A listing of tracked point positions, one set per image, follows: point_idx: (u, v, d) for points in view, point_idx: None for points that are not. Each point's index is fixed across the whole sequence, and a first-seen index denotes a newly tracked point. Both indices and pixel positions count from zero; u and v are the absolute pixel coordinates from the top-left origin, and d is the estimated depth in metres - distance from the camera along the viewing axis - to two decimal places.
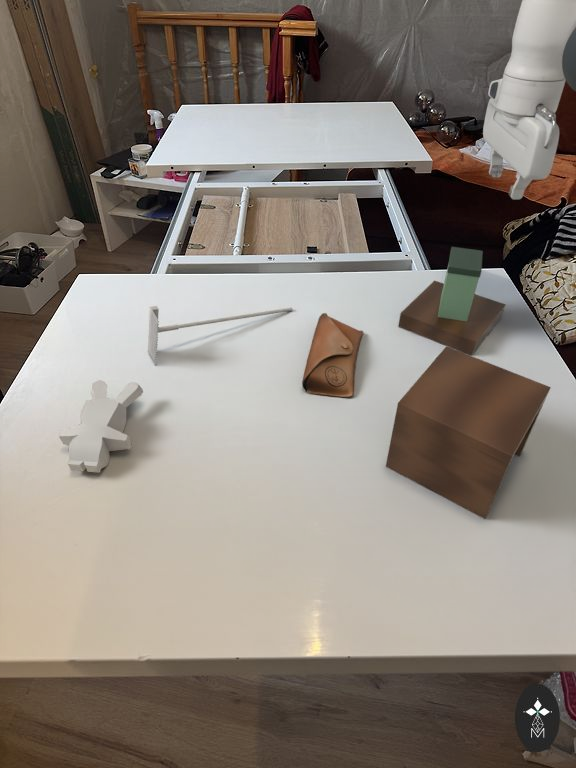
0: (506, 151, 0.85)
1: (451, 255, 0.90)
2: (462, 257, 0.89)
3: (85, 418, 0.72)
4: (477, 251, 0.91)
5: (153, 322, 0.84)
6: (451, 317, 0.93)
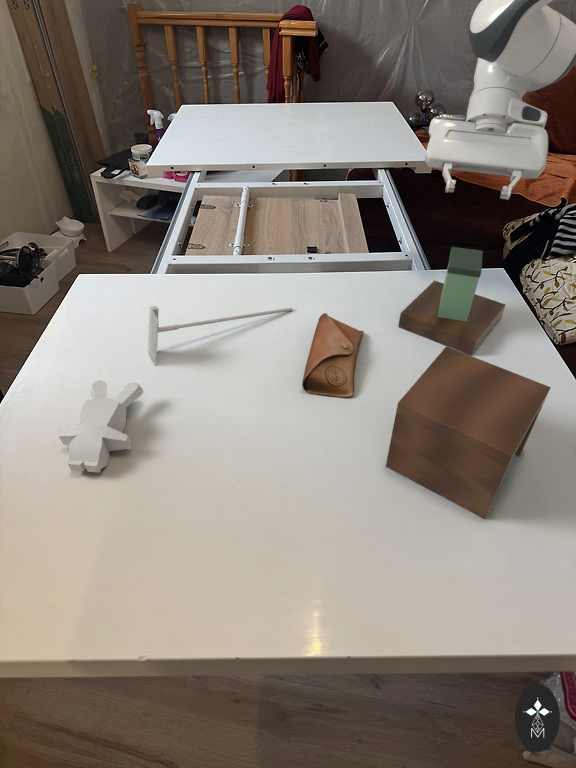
0: None
1: (451, 255, 0.90)
2: (462, 257, 0.89)
3: (85, 418, 0.72)
4: (477, 251, 0.91)
5: (153, 322, 0.84)
6: (451, 317, 0.93)
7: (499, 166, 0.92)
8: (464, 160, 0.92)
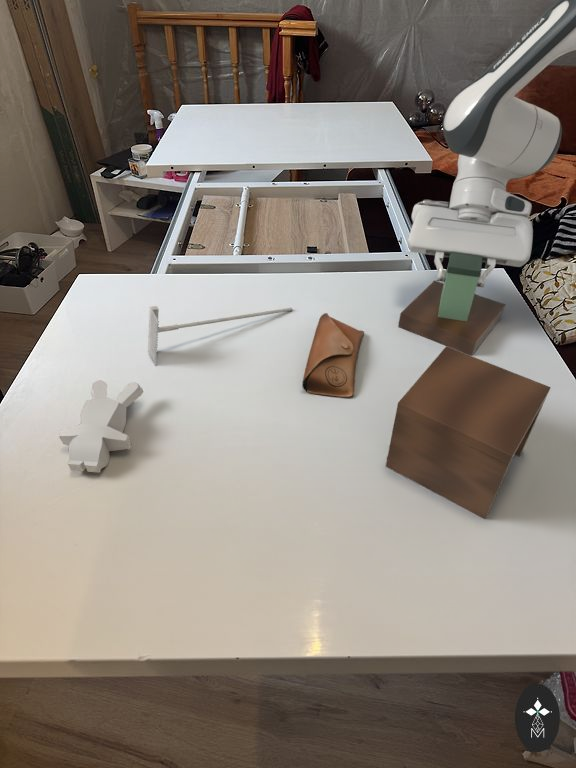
0: None
1: (451, 255, 0.90)
2: (462, 257, 0.89)
3: (85, 418, 0.72)
4: None
5: (153, 322, 0.84)
6: (451, 317, 0.93)
7: (482, 256, 0.89)
8: (446, 248, 0.90)
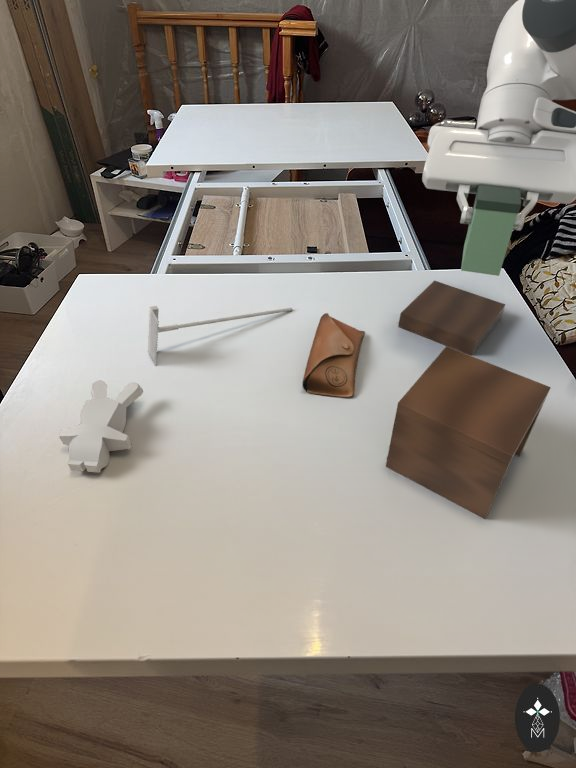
0: None
1: (479, 187, 0.69)
2: (494, 190, 0.68)
3: (85, 418, 0.72)
4: None
5: (153, 322, 0.84)
6: (478, 270, 0.72)
7: (521, 188, 0.69)
8: (473, 180, 0.70)
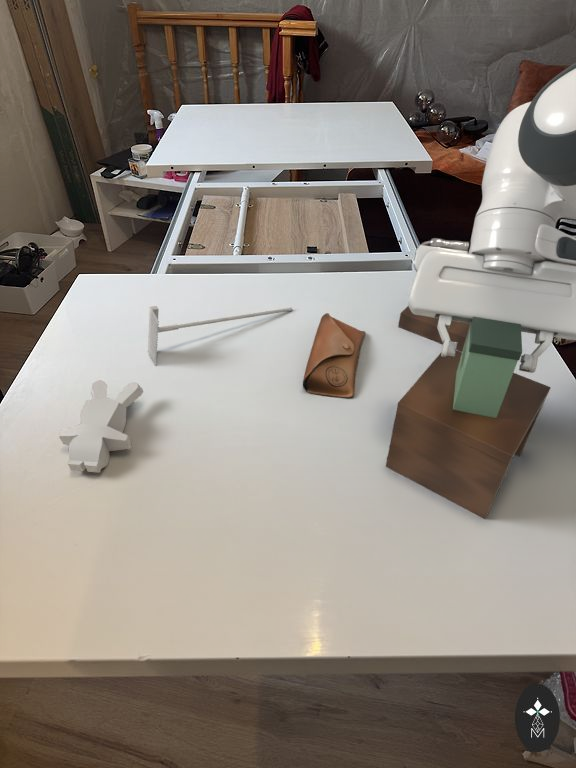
0: None
1: (474, 323, 0.59)
2: (491, 327, 0.59)
3: (85, 418, 0.72)
4: None
5: (153, 322, 0.84)
6: (473, 411, 0.63)
7: (521, 325, 0.59)
8: (466, 313, 0.60)
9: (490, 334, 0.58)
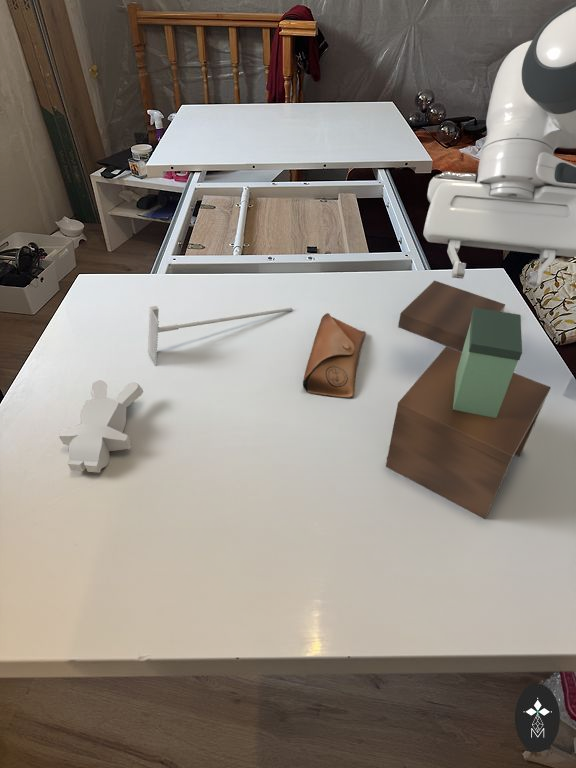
0: None
1: (474, 323, 0.59)
2: (491, 327, 0.59)
3: (85, 418, 0.72)
4: (512, 315, 0.61)
5: (153, 322, 0.84)
6: (473, 411, 0.63)
7: (525, 245, 0.67)
8: (476, 236, 0.68)
9: (490, 334, 0.58)
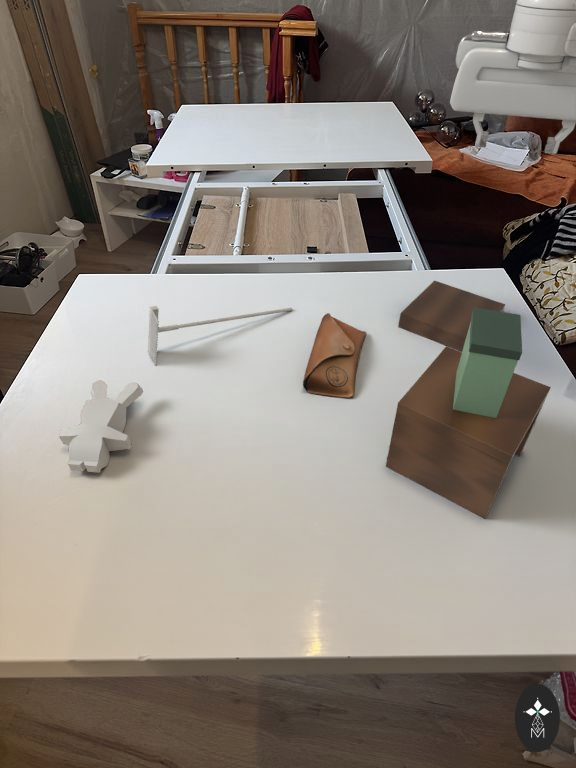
0: None
1: (474, 323, 0.59)
2: (491, 327, 0.59)
3: (85, 418, 0.72)
4: (512, 315, 0.61)
5: (153, 322, 0.84)
6: (473, 411, 0.63)
7: None
8: (499, 112, 0.71)
9: (490, 334, 0.58)
